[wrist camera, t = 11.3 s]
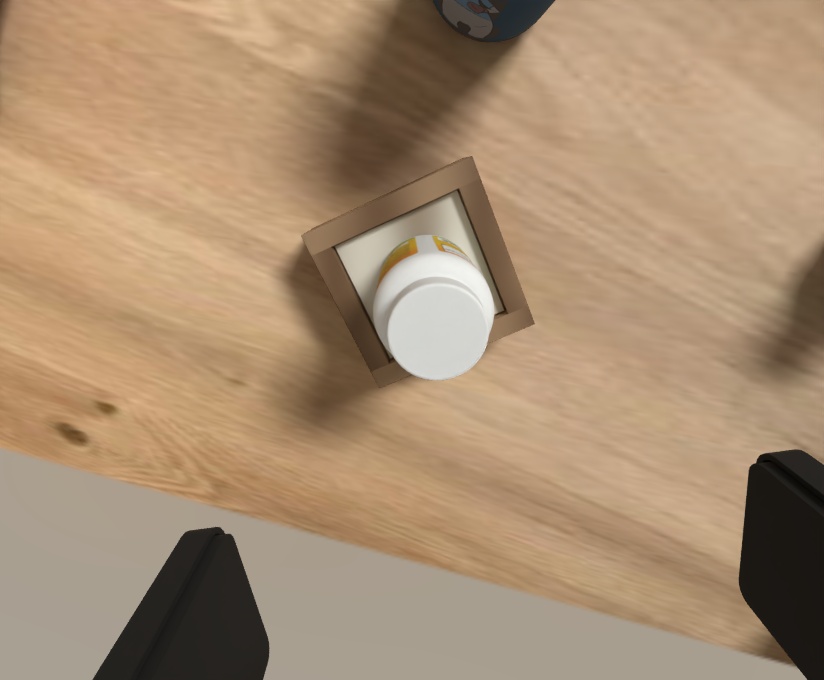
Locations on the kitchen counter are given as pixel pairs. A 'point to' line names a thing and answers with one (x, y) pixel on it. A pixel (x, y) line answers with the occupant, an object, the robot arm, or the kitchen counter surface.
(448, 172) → the picture frame
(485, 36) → the soda can
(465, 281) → the supplement bottle
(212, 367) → the kitchen counter surface
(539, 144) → the kitchen counter surface
